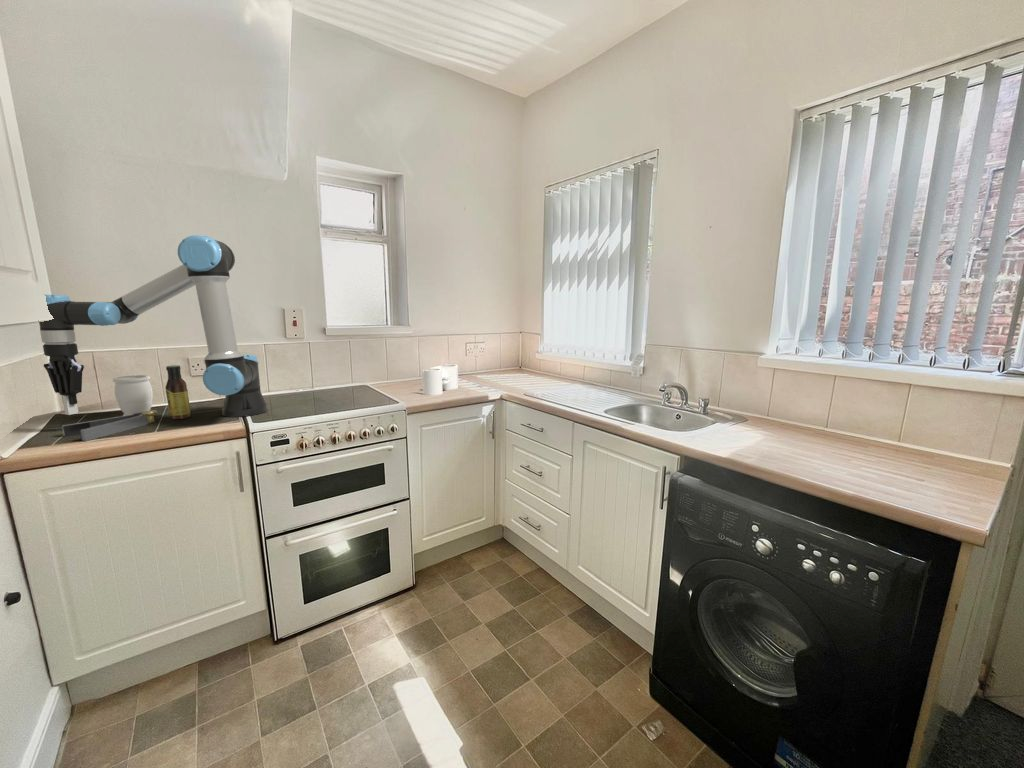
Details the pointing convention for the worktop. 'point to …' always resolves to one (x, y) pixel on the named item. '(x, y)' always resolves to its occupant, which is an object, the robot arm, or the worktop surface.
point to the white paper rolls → (440, 379)
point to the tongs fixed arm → (115, 427)
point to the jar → (133, 393)
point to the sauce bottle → (177, 394)
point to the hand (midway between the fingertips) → (72, 413)
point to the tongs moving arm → (98, 423)
